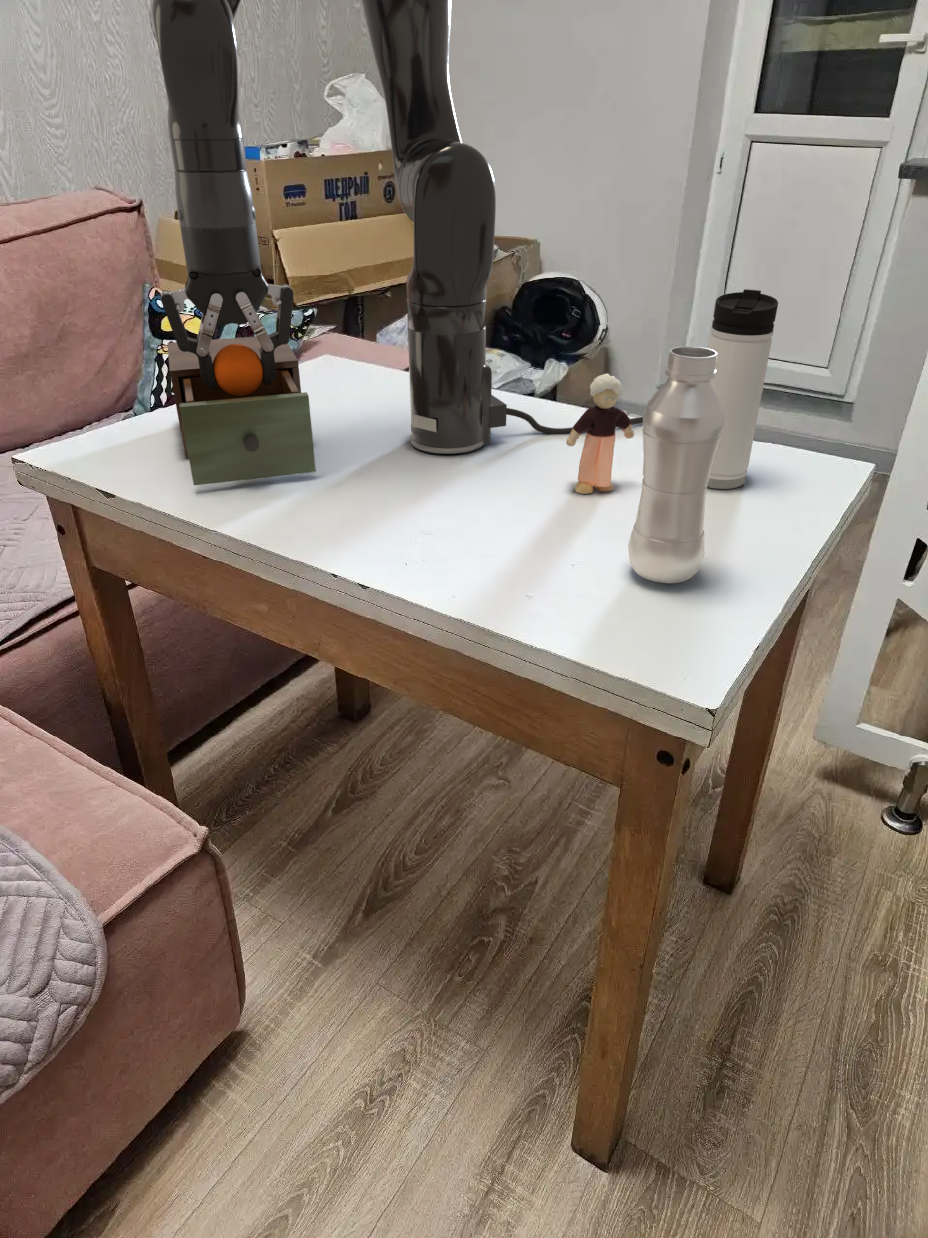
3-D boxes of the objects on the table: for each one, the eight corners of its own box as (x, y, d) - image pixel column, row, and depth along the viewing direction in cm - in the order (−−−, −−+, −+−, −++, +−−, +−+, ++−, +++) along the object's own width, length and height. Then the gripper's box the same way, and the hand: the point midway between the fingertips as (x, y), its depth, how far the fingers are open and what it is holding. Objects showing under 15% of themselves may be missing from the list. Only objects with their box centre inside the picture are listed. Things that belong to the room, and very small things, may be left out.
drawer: (317, 475, 95) (310, 398, 90) (194, 489, 91) (180, 410, 87) (299, 436, 106) (292, 365, 101) (189, 447, 102) (176, 374, 98)
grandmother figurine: (578, 500, 91) (587, 383, 85) (559, 487, 94) (566, 373, 88) (635, 487, 94) (649, 373, 88) (615, 475, 97) (626, 364, 91)
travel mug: (749, 473, 98) (784, 291, 88) (740, 493, 93) (775, 303, 82) (695, 464, 100) (723, 286, 90) (683, 484, 95) (710, 297, 85)
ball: (260, 385, 98) (255, 336, 95) (270, 398, 94) (264, 348, 91) (212, 390, 96) (205, 341, 93) (220, 404, 92) (212, 352, 89)
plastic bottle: (701, 596, 74) (741, 364, 63) (623, 588, 75) (649, 359, 64) (699, 562, 79) (735, 344, 69) (625, 555, 80) (650, 340, 70)
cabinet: (306, 446, 106) (298, 360, 100) (185, 458, 102) (169, 370, 96) (291, 413, 117) (282, 334, 111) (181, 423, 113) (167, 342, 107)
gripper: (284, 213, 91) (299, 372, 100) (143, 218, 87) (172, 382, 96) (294, 222, 85) (309, 390, 93) (143, 226, 81) (174, 401, 90)
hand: (239, 385), depth 95 cm, fingers closed on ball, 5 cm apart
